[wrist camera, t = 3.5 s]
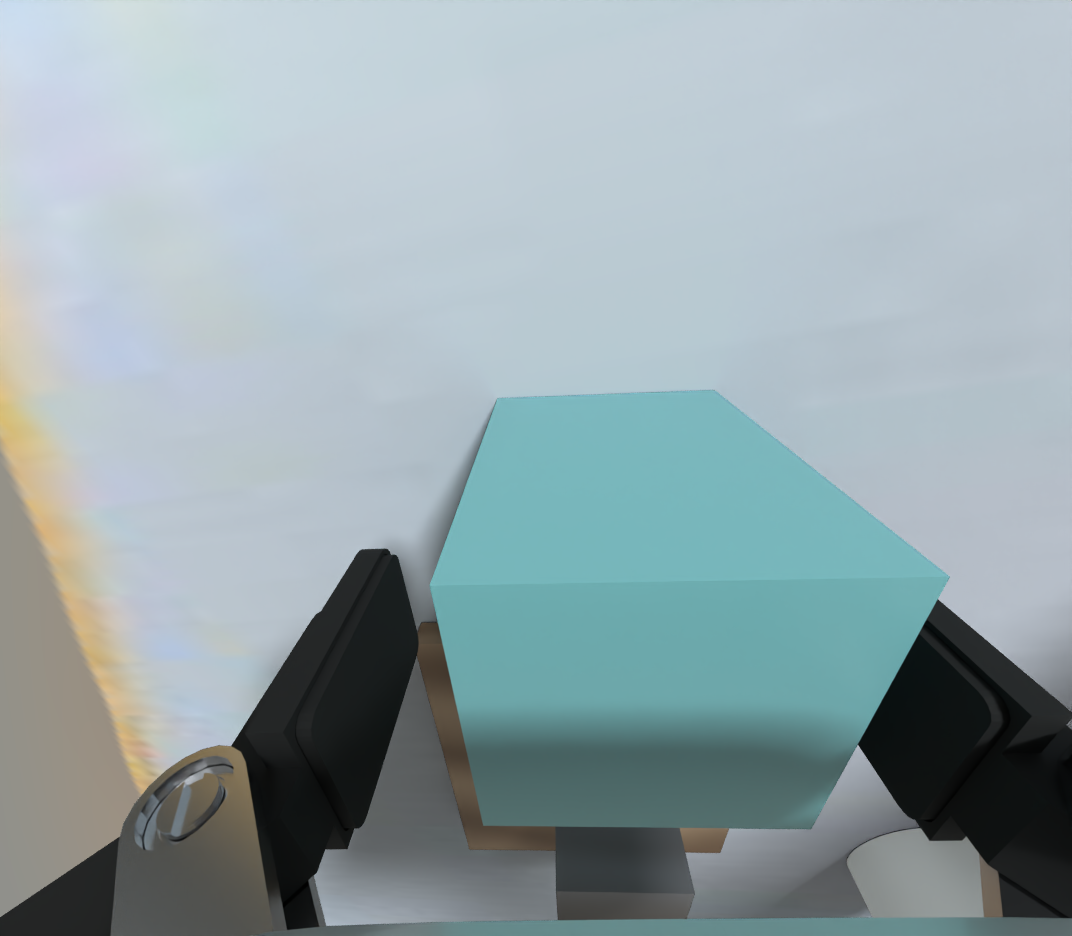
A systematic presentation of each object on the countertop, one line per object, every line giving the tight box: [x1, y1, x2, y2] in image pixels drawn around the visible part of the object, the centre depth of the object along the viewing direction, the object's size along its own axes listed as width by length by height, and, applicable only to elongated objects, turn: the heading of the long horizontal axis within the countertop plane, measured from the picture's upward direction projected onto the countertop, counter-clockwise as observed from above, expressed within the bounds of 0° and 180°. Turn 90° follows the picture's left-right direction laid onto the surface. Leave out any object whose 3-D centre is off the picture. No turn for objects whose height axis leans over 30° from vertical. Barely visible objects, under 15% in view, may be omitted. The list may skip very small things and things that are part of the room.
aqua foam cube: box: [430, 390, 950, 829], centre depth 10 cm, size 6×6×8 cm
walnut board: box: [417, 623, 729, 920], centre depth 17 cm, size 17×14×7 cm
